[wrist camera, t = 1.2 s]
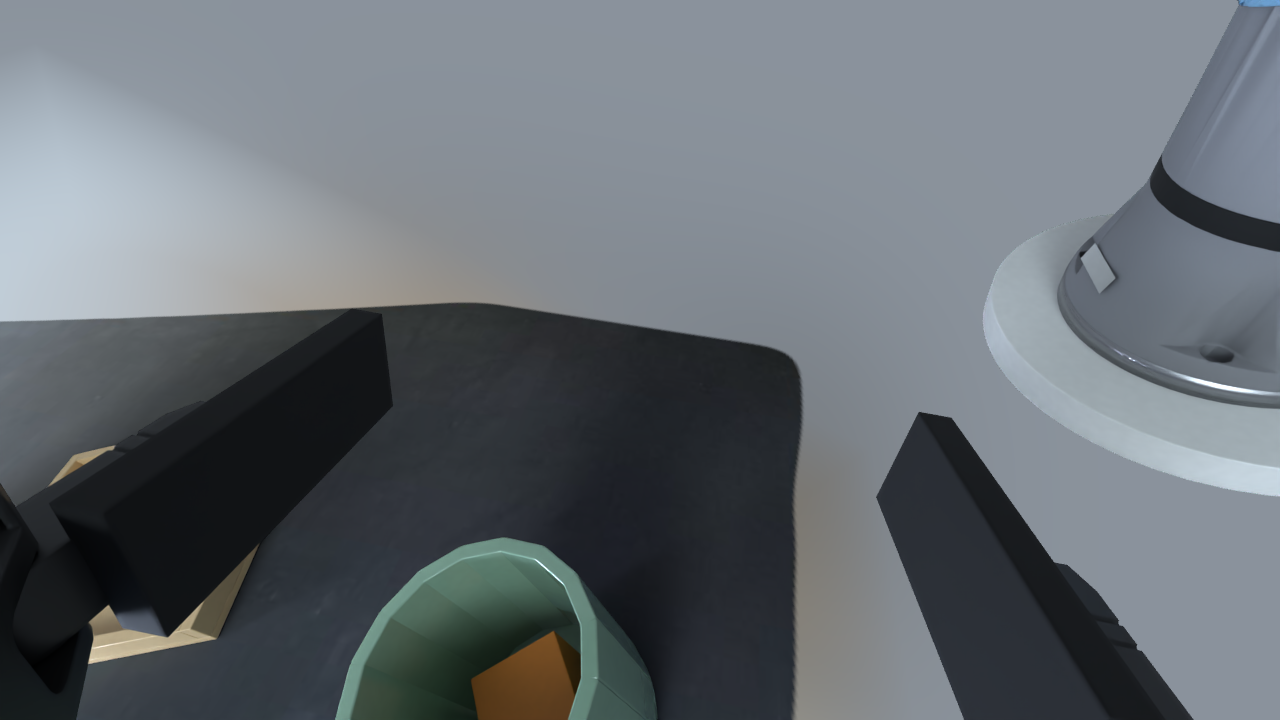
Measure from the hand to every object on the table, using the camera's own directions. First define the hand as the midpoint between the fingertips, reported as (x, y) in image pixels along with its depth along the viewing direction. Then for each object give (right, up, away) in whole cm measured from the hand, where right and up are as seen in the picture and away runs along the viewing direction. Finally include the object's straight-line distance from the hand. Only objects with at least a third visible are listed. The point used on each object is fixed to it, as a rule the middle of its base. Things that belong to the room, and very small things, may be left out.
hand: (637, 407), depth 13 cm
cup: (-4, -16, +12) cm, 20 cm away
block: (-4, -15, +11) cm, 19 cm away
